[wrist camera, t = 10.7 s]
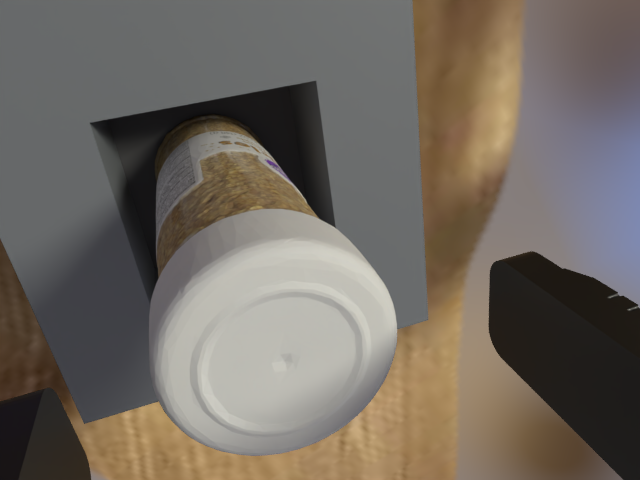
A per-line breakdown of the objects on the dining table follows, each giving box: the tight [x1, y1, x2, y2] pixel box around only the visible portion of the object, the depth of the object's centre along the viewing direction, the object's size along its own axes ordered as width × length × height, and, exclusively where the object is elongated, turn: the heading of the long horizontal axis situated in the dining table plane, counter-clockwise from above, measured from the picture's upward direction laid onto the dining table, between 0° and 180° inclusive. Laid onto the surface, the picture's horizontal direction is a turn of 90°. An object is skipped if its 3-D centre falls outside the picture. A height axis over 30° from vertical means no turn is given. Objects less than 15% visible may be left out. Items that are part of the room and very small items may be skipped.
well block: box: [0, 0, 428, 424], centre depth 19 cm, size 14×14×5 cm
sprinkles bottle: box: [149, 114, 397, 456], centre depth 15 cm, size 5×5×13 cm
